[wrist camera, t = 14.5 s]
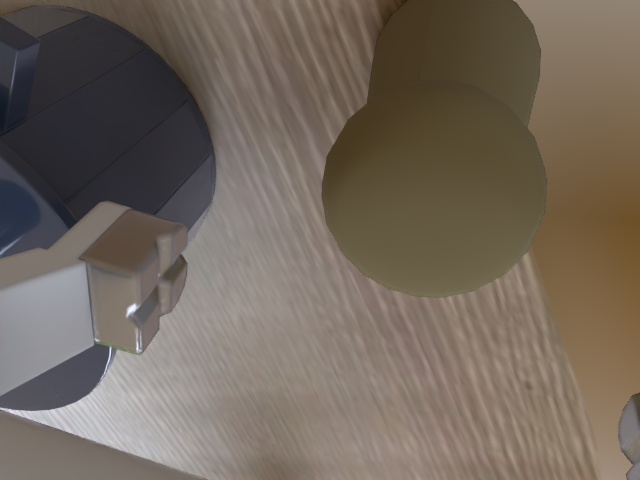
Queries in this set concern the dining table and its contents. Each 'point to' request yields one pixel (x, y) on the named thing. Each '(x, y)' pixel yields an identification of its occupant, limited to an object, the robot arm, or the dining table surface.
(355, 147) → the olive brown tapered piece
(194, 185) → the pot
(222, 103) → the dining table surface
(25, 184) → the pot lid
